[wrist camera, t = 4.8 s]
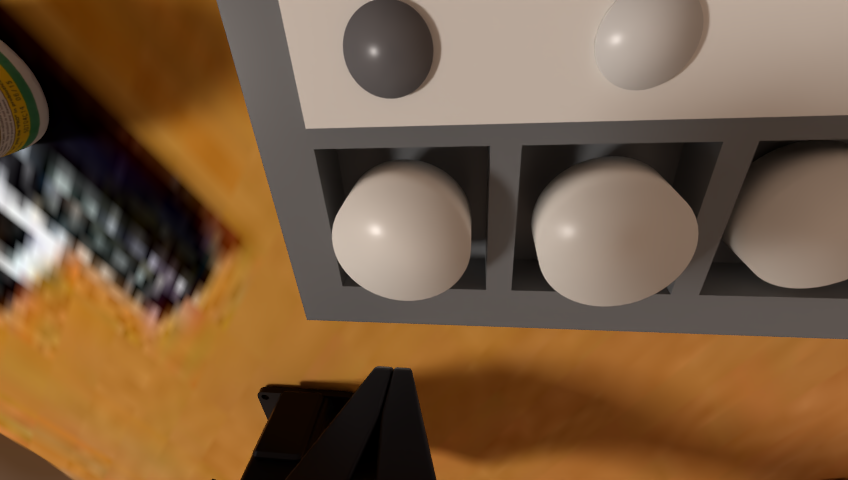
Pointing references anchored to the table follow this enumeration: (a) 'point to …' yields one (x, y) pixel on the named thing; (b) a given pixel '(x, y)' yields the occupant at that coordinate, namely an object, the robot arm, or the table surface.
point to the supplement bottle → (19, 104)
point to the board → (541, 137)
